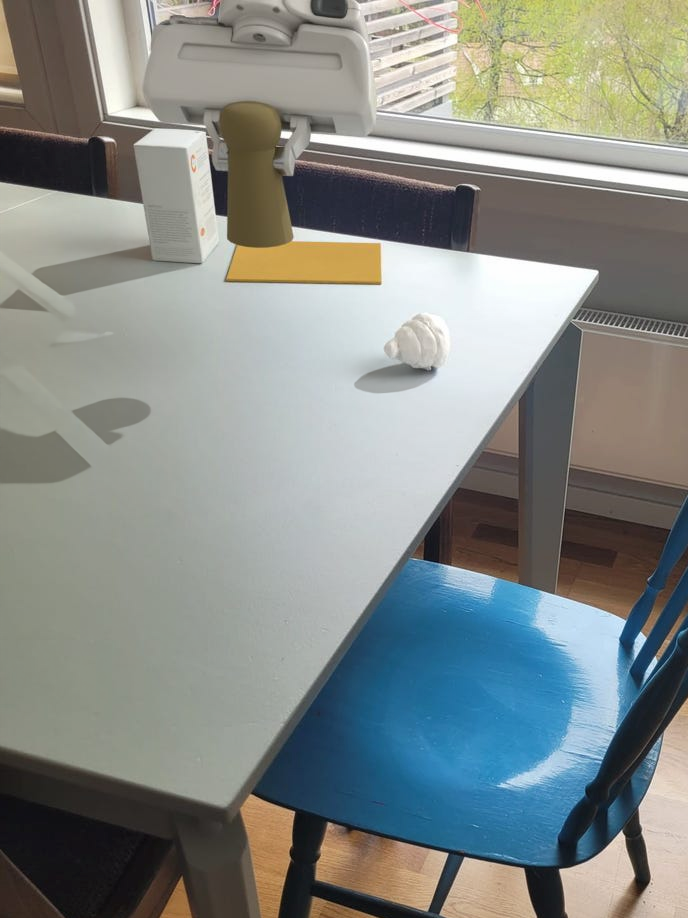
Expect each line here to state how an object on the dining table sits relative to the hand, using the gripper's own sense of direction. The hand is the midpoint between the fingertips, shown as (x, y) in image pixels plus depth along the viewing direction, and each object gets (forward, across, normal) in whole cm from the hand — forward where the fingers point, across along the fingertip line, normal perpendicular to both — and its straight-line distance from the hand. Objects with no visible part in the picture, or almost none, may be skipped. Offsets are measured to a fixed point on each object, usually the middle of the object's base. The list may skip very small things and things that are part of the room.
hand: (252, 169), depth 87 cm
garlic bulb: (+12, +14, +14) cm, 23 cm away
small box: (-9, -18, +35) cm, 40 cm away
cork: (+4, 0, +5) cm, 6 cm away
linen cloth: (-9, -3, +34) cm, 36 cm away
